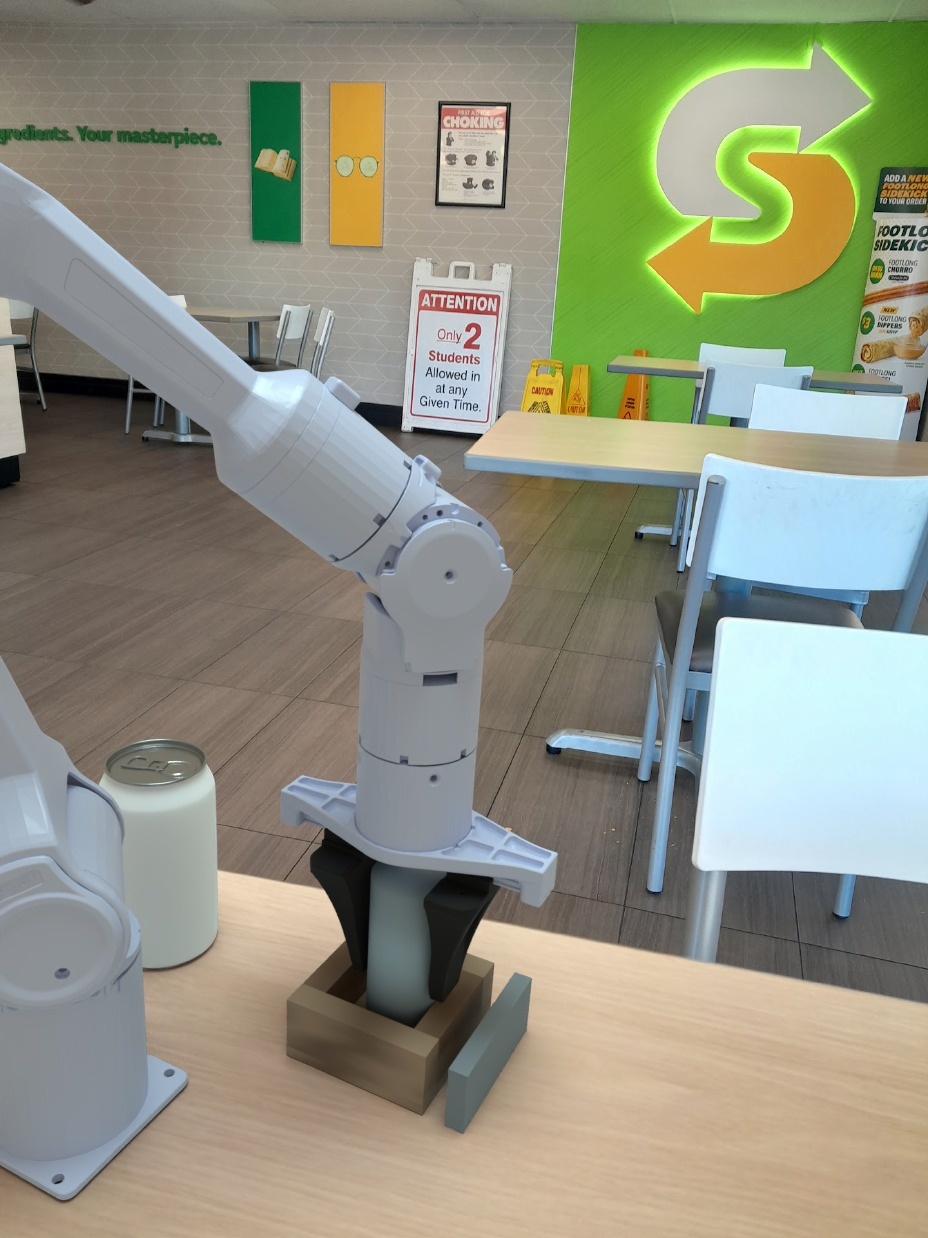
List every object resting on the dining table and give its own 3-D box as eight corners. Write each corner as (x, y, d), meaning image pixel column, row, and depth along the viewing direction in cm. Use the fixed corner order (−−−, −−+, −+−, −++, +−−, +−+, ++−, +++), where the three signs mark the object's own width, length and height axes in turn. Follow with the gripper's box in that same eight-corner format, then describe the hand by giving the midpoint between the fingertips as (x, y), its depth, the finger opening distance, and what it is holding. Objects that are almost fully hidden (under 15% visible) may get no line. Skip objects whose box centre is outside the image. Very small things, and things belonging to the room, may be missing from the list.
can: (189, 983, 56) (182, 796, 52) (85, 962, 57) (71, 777, 53) (236, 916, 62) (233, 744, 58) (141, 899, 63) (132, 728, 60)
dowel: (351, 1028, 52) (355, 881, 49) (389, 984, 55) (396, 843, 52) (418, 1057, 50) (427, 906, 47) (453, 1009, 54) (464, 866, 51)
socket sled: (286, 1054, 51) (286, 999, 50) (366, 967, 58) (368, 917, 57) (422, 1115, 48) (425, 1058, 47) (490, 1015, 55) (494, 963, 54)
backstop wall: (444, 1126, 48) (448, 1069, 47) (509, 1024, 55) (514, 972, 54) (462, 1135, 47) (467, 1077, 46) (526, 1031, 54) (532, 978, 53)
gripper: (588, 744, 48) (562, 976, 52) (334, 679, 54) (330, 893, 58) (534, 807, 42) (510, 1064, 46) (254, 726, 48) (256, 961, 52)
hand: (405, 974), depth 52 cm, fingers closed on dowel, 4 cm apart
